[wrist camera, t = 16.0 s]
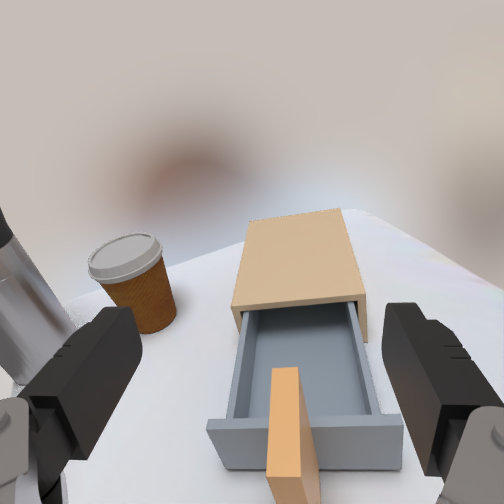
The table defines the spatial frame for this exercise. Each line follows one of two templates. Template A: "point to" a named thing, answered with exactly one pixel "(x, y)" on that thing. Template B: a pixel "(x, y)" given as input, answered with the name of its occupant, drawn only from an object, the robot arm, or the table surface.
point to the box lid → (298, 265)
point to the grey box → (304, 401)
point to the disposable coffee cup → (136, 278)
